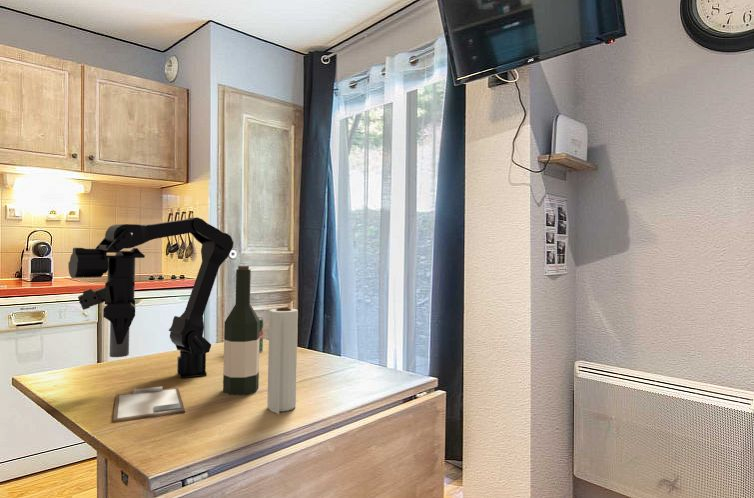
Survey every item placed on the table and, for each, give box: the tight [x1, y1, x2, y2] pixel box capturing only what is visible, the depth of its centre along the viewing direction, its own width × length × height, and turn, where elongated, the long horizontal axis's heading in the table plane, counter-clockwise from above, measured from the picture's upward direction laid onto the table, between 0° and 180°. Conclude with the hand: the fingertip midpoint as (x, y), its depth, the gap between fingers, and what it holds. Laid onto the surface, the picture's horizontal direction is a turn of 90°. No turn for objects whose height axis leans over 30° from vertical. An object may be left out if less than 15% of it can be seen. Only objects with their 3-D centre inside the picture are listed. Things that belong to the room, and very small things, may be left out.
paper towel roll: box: [266, 307, 299, 416], centre depth 100 cm, size 7×6×21 cm
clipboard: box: [112, 385, 186, 423], centre depth 100 cm, size 13×17×1 cm
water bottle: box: [109, 321, 130, 358], centre depth 110 cm, size 4×4×10 cm
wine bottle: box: [222, 265, 260, 396], centre depth 111 cm, size 8×8×30 cm
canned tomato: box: [258, 316, 264, 354], centre depth 152 cm, size 8×8×11 cm
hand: (119, 342), depth 110 cm, fingers closed on water bottle, 4 cm apart
